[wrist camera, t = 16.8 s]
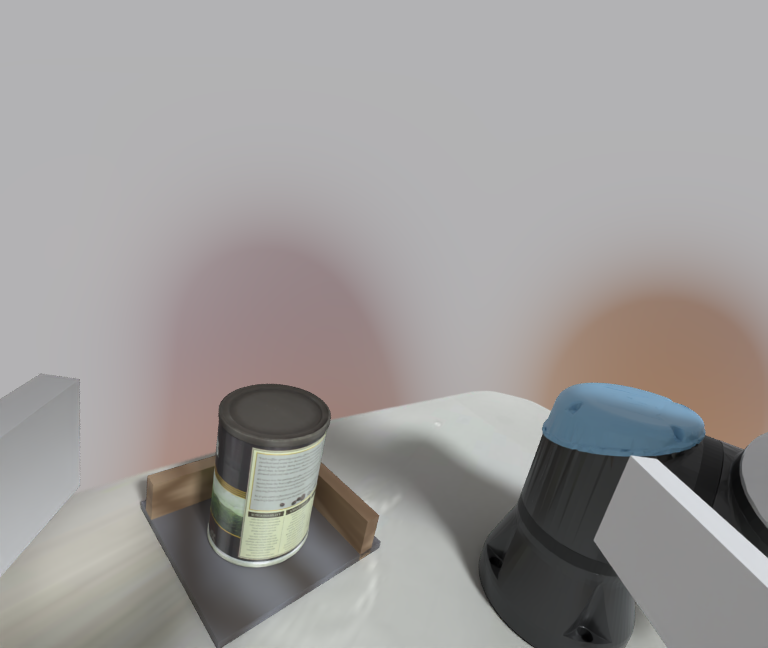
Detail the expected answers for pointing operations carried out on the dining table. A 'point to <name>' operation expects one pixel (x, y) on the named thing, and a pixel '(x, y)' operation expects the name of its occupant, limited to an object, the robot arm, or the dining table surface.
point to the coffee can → (265, 473)
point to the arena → (252, 584)
